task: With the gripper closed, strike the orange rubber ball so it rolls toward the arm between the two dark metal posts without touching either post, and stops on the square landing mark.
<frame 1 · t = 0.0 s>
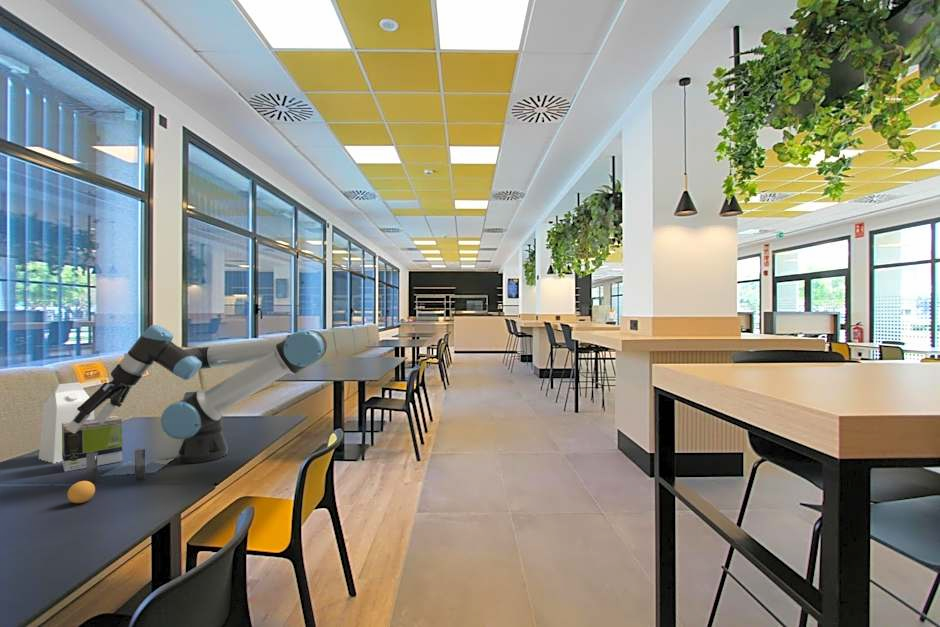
hand: (85, 426, 140), 15 cm above the table, tool tilted 35°, fingers open, 13 cm apart
inner post: (139, 480, 135), on the table
milk: (67, 457, 161), on the table
tea box: (92, 464, 152), on the table
outer post: (91, 483, 133), on the table
landing mark: (140, 467, 148), on the table
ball: (81, 492, 118), on the table
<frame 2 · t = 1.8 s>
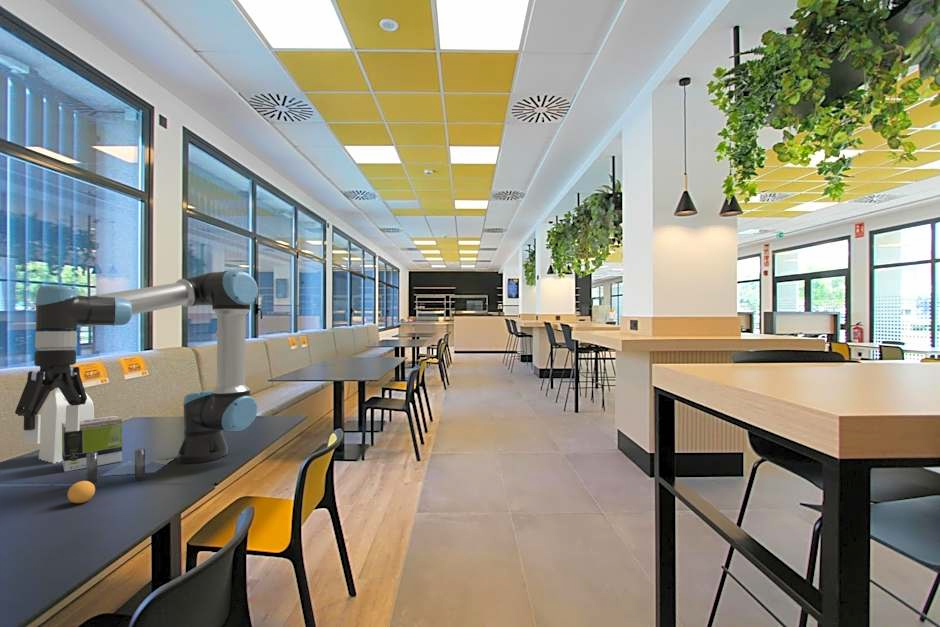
hand: (53, 437, 109), 19 cm above the table, tool pointing down, fingers open, 13 cm apart
nothing on the table moved.
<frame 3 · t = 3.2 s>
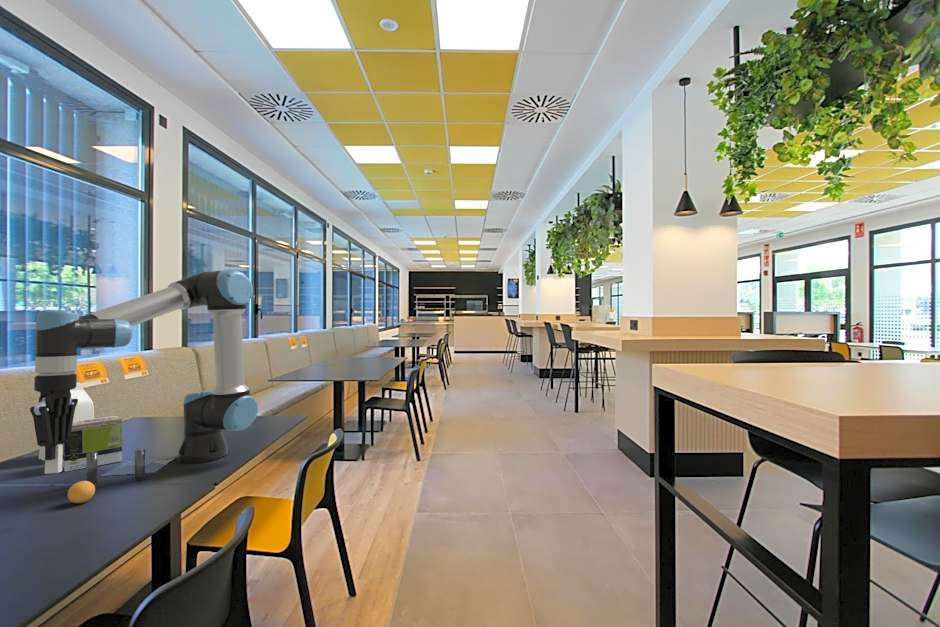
hand: (53, 472, 108), 11 cm above the table, tool pointing down, fingers closed
nothing on the table moved.
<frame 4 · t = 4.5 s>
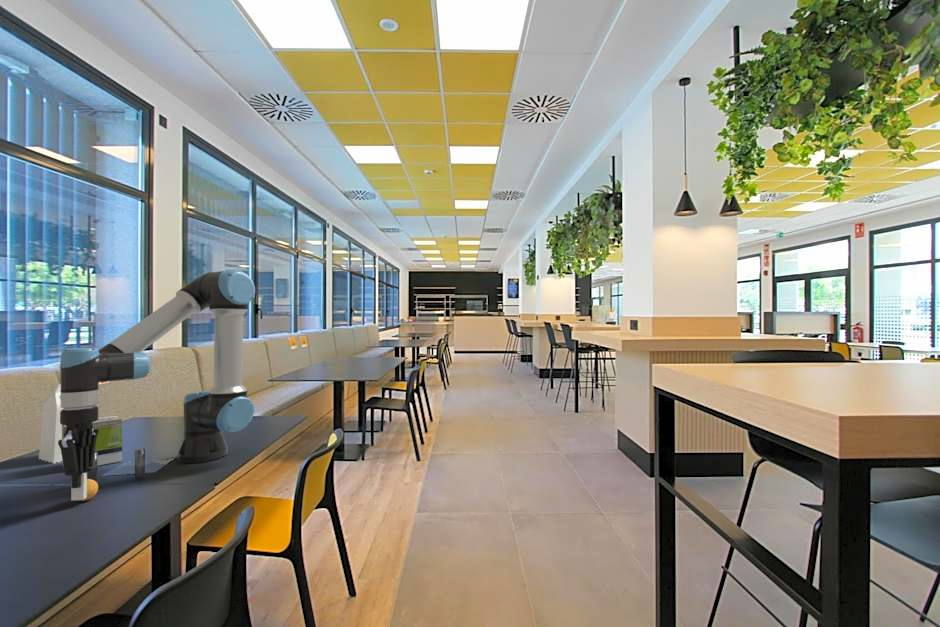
hand: (79, 499, 117), 2 cm above the table, tool pointing down, fingers closed
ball: (84, 489, 120), on the table, touching gripper
everything else where it was.
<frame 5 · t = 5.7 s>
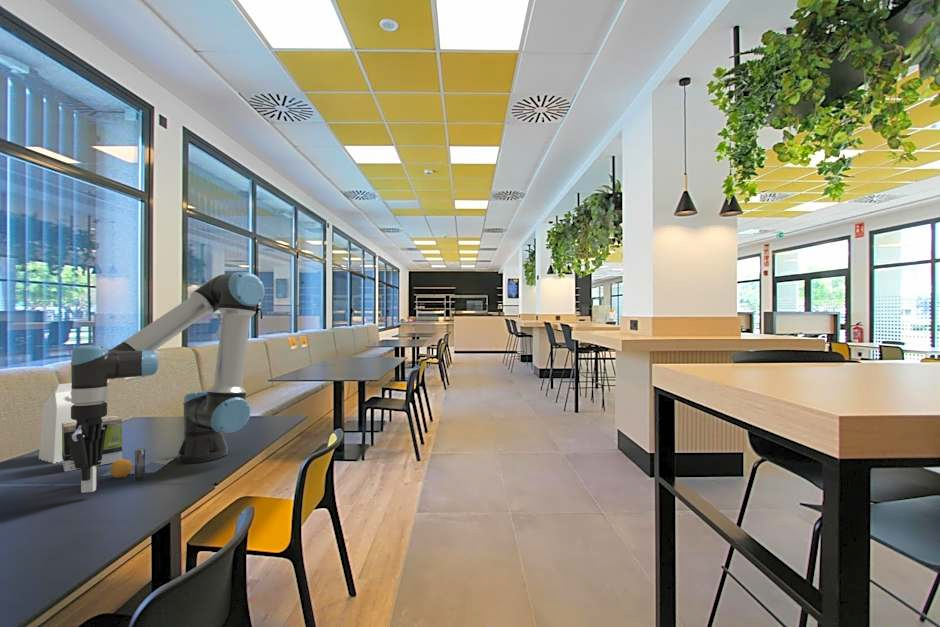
hand: (88, 491, 121), 2 cm above the table, tool pointing down, fingers closed
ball: (121, 468, 138), on the table
everything else where it was.
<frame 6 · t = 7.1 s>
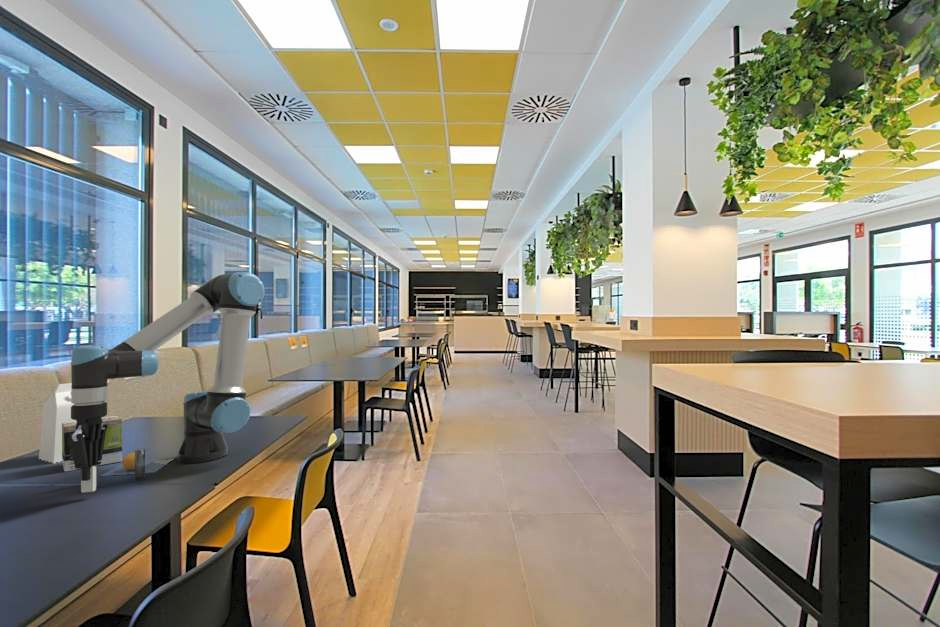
hand: (88, 491, 121), 2 cm above the table, tool pointing down, fingers closed
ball: (132, 461, 145), on the table
everything else where it was.
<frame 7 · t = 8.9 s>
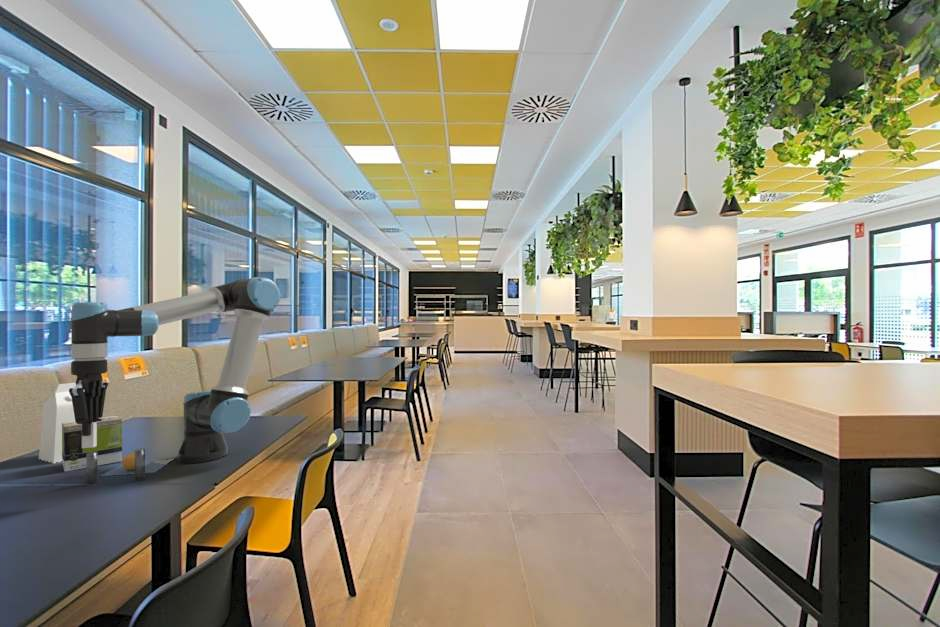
hand: (89, 447, 122), 14 cm above the table, tool pointing down, fingers closed
nothing on the table moved.
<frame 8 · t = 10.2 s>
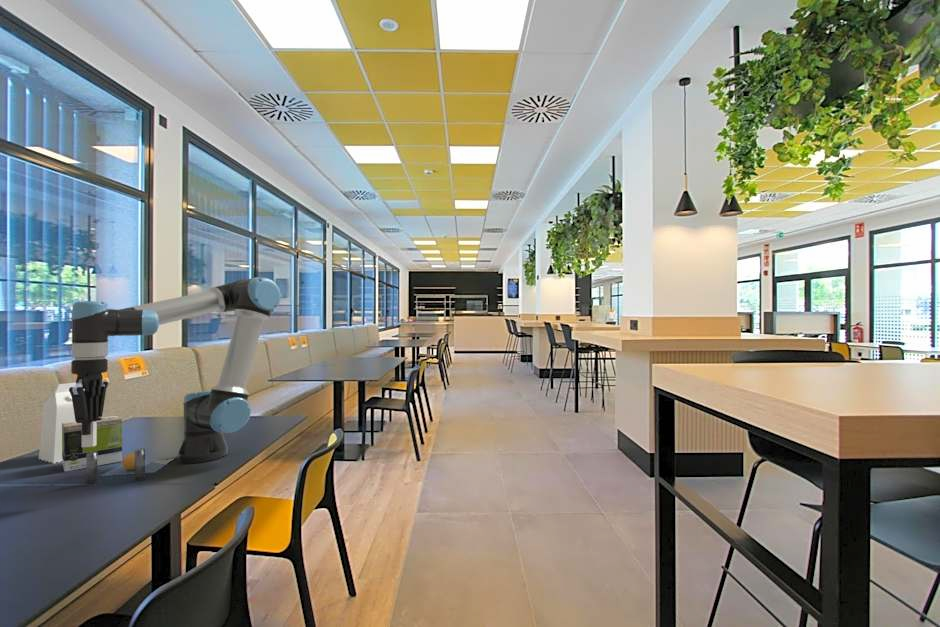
hand: (89, 446, 122), 14 cm above the table, tool pointing down, fingers closed
nothing on the table moved.
at the end: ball 2.9 cm from the landing mark (horizontally); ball never touched inner post; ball never touched outer post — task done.
